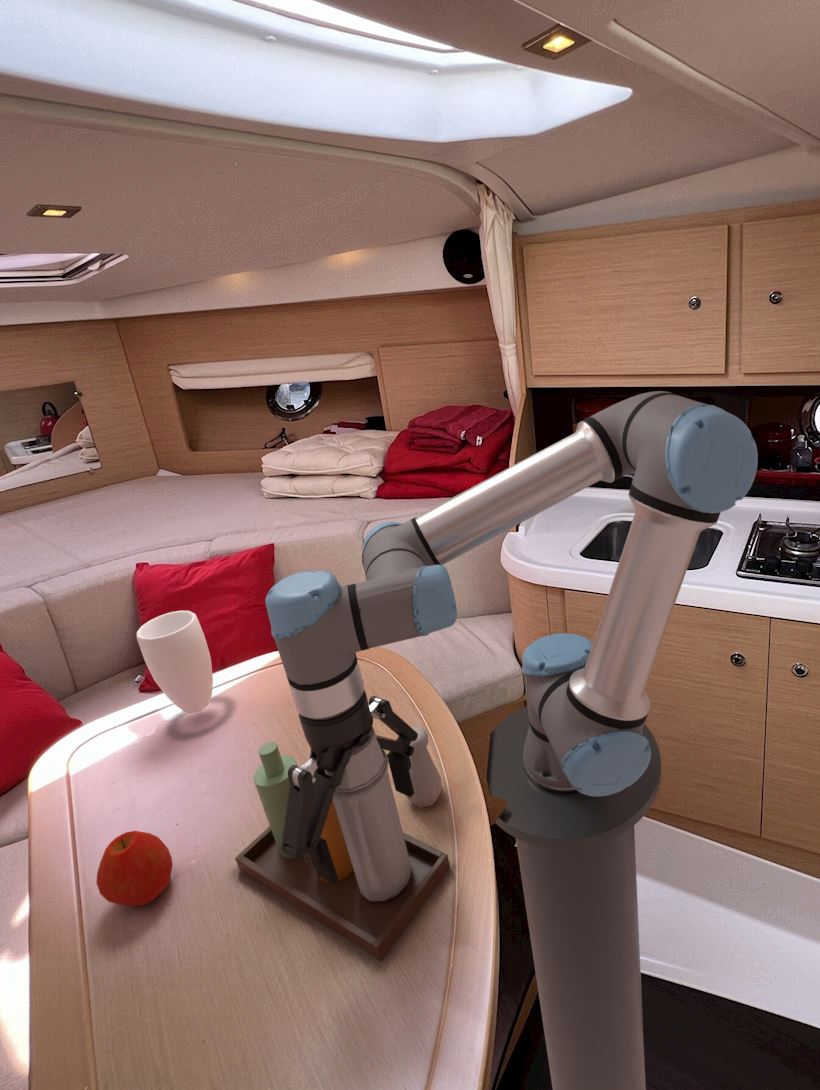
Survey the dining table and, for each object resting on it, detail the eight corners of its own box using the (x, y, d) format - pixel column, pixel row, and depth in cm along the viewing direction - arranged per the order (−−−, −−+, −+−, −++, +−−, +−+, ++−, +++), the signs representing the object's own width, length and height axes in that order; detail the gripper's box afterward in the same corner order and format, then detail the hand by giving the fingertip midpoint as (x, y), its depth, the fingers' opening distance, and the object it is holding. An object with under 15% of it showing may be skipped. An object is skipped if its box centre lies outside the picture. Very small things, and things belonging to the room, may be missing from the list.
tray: (450, 867, 84) (447, 854, 83) (381, 961, 73) (377, 948, 72) (315, 799, 97) (311, 787, 96) (239, 870, 86) (234, 858, 85)
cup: (233, 693, 124) (201, 603, 116) (228, 725, 115) (194, 630, 107) (176, 709, 121) (139, 618, 113) (167, 743, 112) (126, 647, 104)
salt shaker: (404, 814, 93) (388, 749, 88) (411, 784, 98) (396, 721, 94) (441, 810, 93) (428, 745, 88) (446, 781, 98) (434, 718, 94)
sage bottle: (320, 821, 93) (292, 729, 86) (316, 852, 87) (285, 757, 81) (282, 830, 91) (250, 738, 85) (275, 863, 86) (241, 768, 80)
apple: (102, 930, 80) (71, 874, 76) (125, 874, 87) (98, 821, 83) (170, 910, 82) (143, 855, 78) (187, 857, 89) (163, 804, 85)
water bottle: (360, 862, 85) (320, 724, 76) (416, 850, 86) (383, 712, 77) (351, 927, 77) (305, 780, 68) (414, 912, 78) (376, 766, 69)
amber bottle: (360, 841, 89) (333, 747, 82) (358, 876, 83) (329, 778, 77) (320, 852, 87) (289, 757, 81) (315, 887, 82) (283, 789, 76)
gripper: (384, 634, 81) (411, 754, 89) (211, 766, 61) (267, 906, 69) (426, 646, 78) (451, 770, 86) (258, 791, 58) (311, 935, 66)
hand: (369, 831), depth 77 cm, fingers open, 13 cm apart
